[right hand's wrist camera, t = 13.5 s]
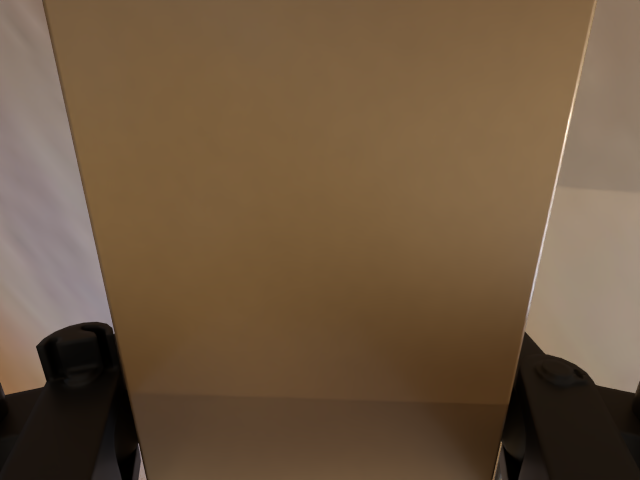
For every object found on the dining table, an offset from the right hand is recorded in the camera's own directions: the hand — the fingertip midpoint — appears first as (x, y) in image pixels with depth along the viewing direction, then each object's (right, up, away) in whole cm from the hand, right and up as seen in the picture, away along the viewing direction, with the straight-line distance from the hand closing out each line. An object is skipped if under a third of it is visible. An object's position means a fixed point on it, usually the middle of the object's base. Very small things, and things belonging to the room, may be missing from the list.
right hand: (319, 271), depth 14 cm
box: (0, +8, -2) cm, 9 cm away
